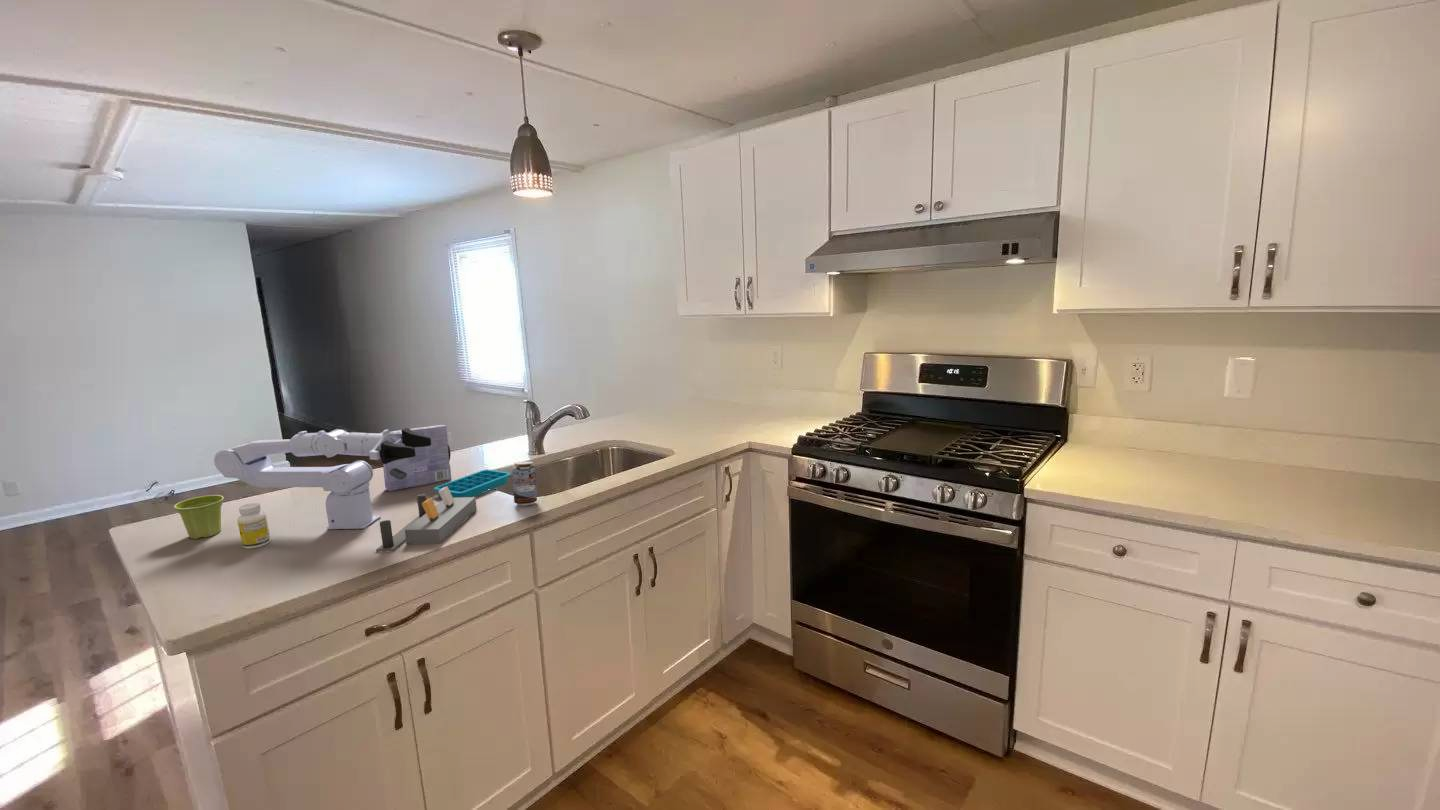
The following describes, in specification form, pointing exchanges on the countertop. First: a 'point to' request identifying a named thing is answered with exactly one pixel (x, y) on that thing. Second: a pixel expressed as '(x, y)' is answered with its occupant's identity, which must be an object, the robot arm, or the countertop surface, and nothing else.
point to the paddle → (446, 497)
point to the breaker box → (440, 522)
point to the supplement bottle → (253, 526)
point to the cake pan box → (421, 462)
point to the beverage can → (524, 483)
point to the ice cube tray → (475, 483)
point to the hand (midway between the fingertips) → (422, 446)
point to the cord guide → (399, 538)
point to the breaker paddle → (430, 509)
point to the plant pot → (201, 515)
